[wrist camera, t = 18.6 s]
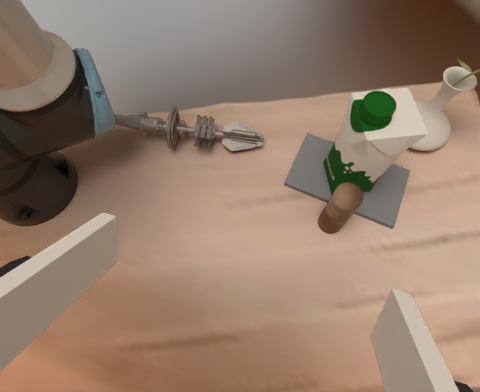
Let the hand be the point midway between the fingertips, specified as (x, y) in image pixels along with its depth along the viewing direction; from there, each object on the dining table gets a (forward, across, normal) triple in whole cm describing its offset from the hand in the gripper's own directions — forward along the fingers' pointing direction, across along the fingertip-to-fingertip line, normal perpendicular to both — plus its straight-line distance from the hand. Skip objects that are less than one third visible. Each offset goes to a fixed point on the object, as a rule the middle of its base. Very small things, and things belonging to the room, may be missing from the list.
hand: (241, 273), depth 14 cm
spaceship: (+45, -22, -6) cm, 50 cm away
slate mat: (+44, +12, -6) cm, 46 cm away
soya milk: (+44, +12, -6) cm, 46 cm away
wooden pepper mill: (+38, +11, -13) cm, 41 cm away
